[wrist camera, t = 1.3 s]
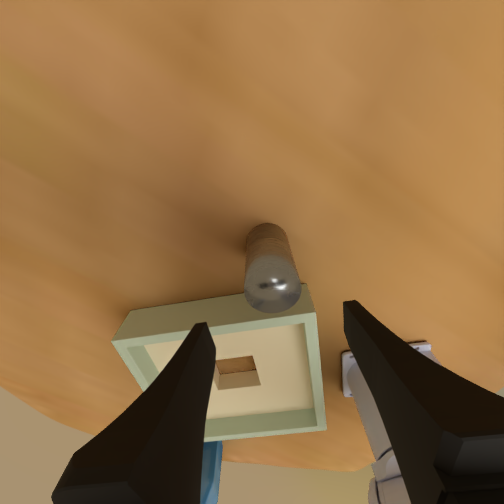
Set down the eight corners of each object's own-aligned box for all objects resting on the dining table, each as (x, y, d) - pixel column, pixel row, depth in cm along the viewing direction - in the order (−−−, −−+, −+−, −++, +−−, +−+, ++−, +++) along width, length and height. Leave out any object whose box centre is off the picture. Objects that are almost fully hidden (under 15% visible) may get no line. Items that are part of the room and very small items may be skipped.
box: (306, 283, 24) (315, 312, 20) (318, 395, 32) (326, 430, 29) (130, 310, 26) (111, 341, 22) (185, 410, 34) (177, 444, 30)
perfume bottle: (219, 425, 36) (205, 554, 25) (222, 447, 39) (211, 571, 28) (176, 425, 36) (144, 554, 25) (182, 447, 39) (156, 571, 28)
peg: (284, 219, 21) (298, 262, 15) (290, 256, 22) (303, 309, 16) (242, 227, 21) (238, 272, 15) (251, 263, 23) (250, 316, 17)
